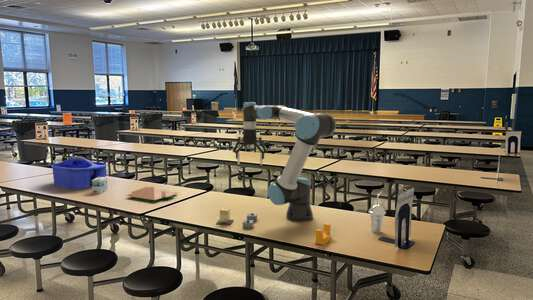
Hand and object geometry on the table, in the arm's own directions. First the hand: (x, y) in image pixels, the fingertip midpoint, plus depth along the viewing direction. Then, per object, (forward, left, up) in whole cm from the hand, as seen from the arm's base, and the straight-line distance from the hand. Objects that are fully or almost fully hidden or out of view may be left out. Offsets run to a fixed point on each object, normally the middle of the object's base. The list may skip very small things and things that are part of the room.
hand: (249, 164), depth 221 cm
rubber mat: (+10, +22, -29) cm, 38 cm away
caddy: (+145, -51, -29) cm, 157 cm away
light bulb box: (+116, -31, -29) cm, 124 cm away
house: (+73, -23, -29) cm, 82 cm away
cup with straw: (-70, +25, -29) cm, 80 cm away
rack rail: (-4, +22, -29) cm, 36 cm away
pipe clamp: (-44, +41, -29) cm, 67 cm away
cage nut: (+10, +22, -28) cm, 37 cm away
